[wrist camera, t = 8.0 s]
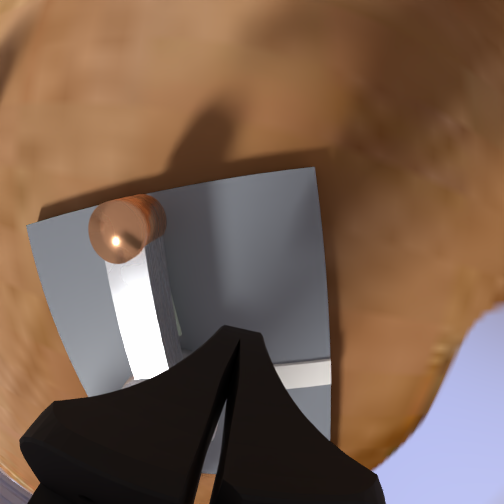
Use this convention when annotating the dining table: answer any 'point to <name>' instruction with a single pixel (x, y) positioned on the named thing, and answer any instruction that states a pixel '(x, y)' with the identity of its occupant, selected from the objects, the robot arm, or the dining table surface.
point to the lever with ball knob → (138, 281)
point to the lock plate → (208, 283)
